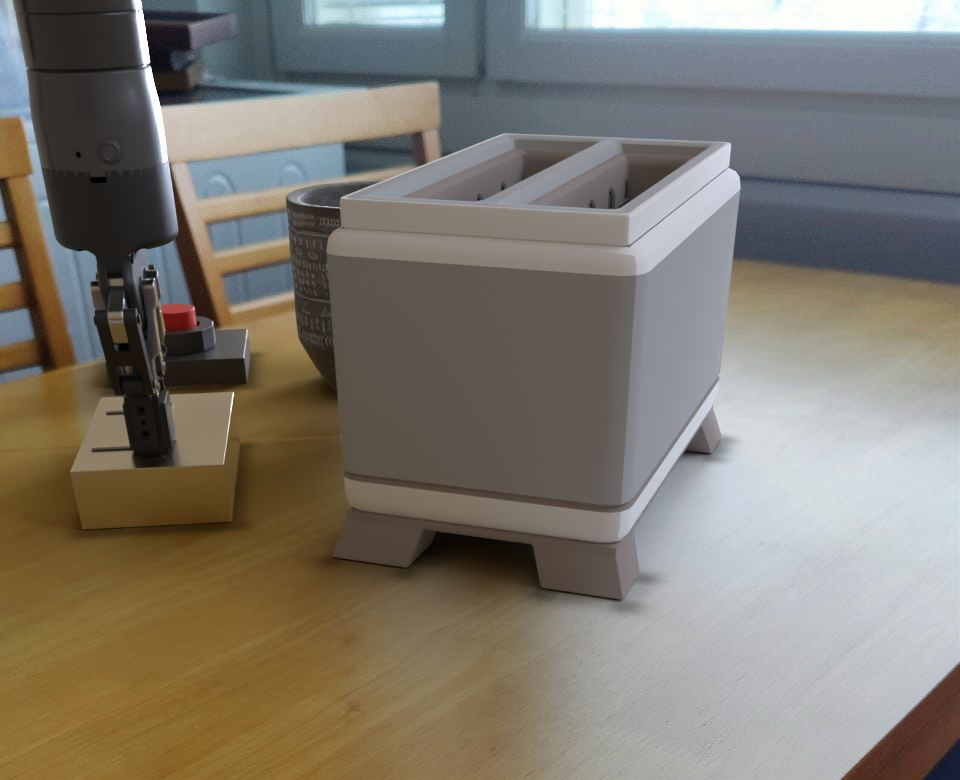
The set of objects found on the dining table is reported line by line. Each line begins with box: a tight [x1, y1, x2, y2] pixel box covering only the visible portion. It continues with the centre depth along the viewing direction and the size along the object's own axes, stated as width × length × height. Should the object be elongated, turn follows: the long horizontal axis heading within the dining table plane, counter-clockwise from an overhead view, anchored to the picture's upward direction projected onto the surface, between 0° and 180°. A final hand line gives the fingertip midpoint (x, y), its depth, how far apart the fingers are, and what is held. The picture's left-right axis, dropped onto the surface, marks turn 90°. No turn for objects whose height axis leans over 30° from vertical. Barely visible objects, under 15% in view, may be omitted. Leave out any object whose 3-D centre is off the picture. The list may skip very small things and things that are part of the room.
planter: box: [285, 179, 385, 392], centre depth 104 cm, size 14×14×15 cm
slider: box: [122, 389, 175, 449], centre depth 82 cm, size 3×3×3 cm
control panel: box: [69, 391, 241, 530], centre depth 87 cm, size 10×16×4 cm, turn 7°
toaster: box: [326, 133, 741, 601], centre depth 82 cm, size 19×34×20 cm, turn 160°
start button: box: [161, 303, 197, 331], centre depth 109 cm, size 4×4×2 cm
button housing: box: [105, 315, 251, 390], centre depth 110 cm, size 12×10×4 cm
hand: (153, 441), depth 83 cm, fingers closed on slider, 3 cm apart
